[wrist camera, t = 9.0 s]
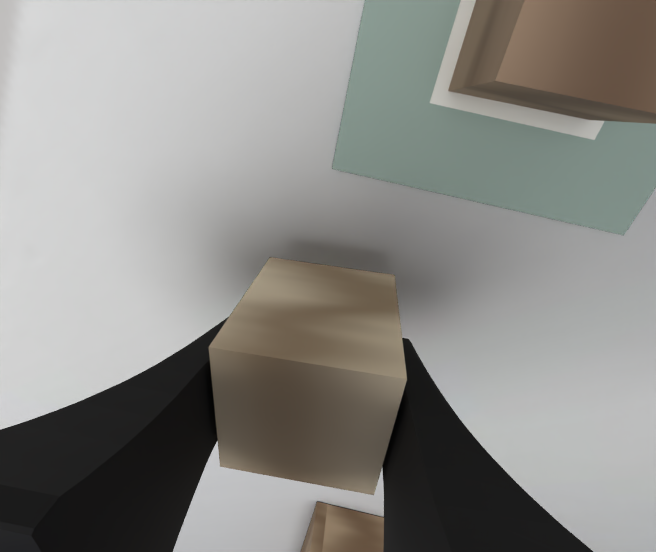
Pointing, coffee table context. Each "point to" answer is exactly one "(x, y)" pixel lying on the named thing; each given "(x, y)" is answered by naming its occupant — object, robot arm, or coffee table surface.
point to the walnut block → (563, 57)
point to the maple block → (310, 375)
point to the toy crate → (343, 531)
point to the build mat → (479, 129)
